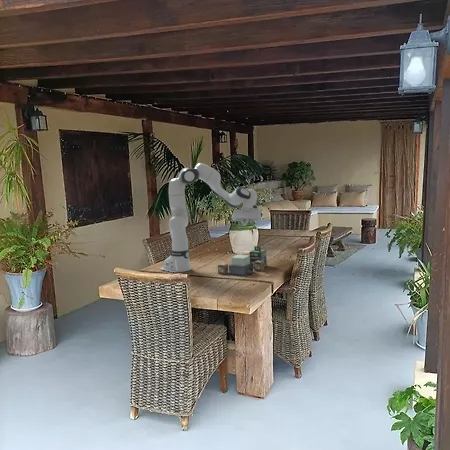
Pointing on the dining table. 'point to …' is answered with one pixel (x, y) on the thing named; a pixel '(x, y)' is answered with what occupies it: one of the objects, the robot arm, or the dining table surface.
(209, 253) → the dining table surface
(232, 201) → the robot arm
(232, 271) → the gray tray
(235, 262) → the plain block
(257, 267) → the walnut block right
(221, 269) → the walnut block left
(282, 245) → the dining table surface
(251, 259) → the chalk box
